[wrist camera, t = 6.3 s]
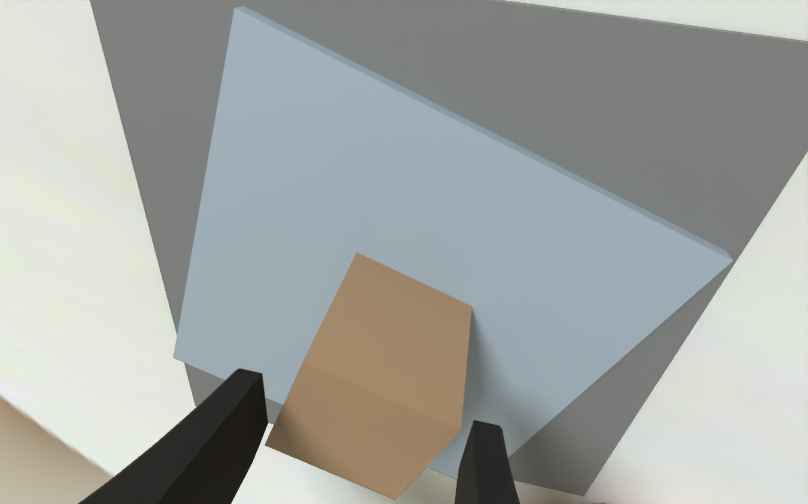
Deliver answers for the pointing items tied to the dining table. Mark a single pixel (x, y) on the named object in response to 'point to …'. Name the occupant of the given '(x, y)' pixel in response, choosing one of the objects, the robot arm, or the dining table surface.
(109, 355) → the dining table surface
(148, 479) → the robot arm
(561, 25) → the mat
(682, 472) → the dining table surface
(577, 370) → the cover
